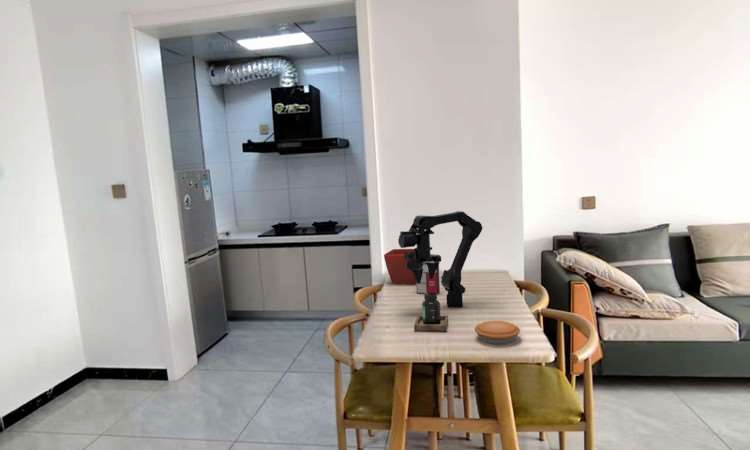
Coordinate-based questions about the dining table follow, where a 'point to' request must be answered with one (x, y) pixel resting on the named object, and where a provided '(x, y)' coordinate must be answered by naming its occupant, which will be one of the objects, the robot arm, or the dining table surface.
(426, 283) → the grey and red box
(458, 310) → the dining table surface
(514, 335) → the pie
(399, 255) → the plant pot
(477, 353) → the dining table surface
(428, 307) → the supplement bottle
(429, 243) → the robot arm
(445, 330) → the walnut tray
